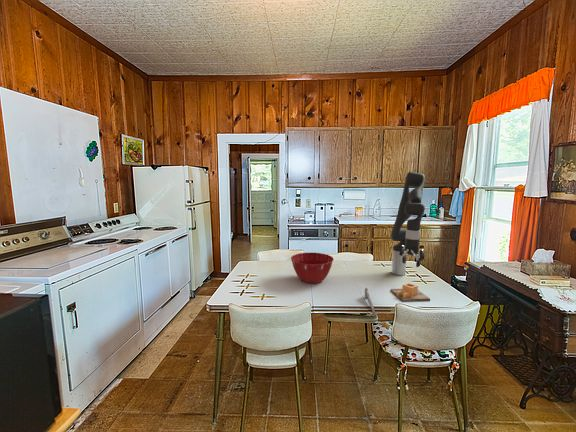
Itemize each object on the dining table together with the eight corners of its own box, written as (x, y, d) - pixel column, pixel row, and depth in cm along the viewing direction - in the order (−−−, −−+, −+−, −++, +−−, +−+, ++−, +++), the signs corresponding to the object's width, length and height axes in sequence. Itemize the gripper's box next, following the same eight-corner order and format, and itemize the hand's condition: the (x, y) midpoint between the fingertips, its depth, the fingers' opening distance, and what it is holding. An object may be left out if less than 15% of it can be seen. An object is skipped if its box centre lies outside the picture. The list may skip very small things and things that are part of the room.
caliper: (364, 297, 172) (364, 286, 171) (366, 297, 172) (366, 286, 171) (372, 313, 152) (373, 301, 151) (375, 313, 152) (375, 301, 151)
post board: (390, 290, 182) (391, 282, 181) (415, 290, 183) (416, 281, 182) (402, 301, 166) (403, 292, 165) (430, 300, 167) (430, 291, 166)
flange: (408, 290, 178) (408, 282, 178) (417, 294, 174) (417, 285, 173) (395, 295, 172) (396, 286, 171) (405, 298, 167) (405, 290, 166)
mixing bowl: (331, 289, 184) (332, 264, 182) (286, 285, 190) (286, 262, 188) (334, 274, 211) (334, 253, 210) (294, 272, 217) (294, 251, 215)
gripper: (428, 239, 166) (426, 267, 168) (405, 234, 178) (403, 261, 180) (420, 240, 162) (418, 269, 164) (397, 236, 174) (396, 263, 176)
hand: (410, 265), depth 172 cm, fingers open, 8 cm apart
